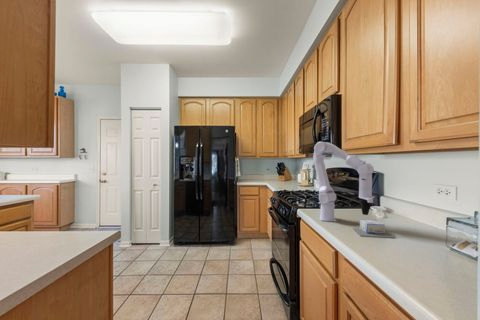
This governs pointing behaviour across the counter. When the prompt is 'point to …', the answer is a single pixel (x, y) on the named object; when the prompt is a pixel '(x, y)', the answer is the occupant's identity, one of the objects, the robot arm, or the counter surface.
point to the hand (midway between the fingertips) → (365, 214)
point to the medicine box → (372, 226)
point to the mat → (372, 234)
